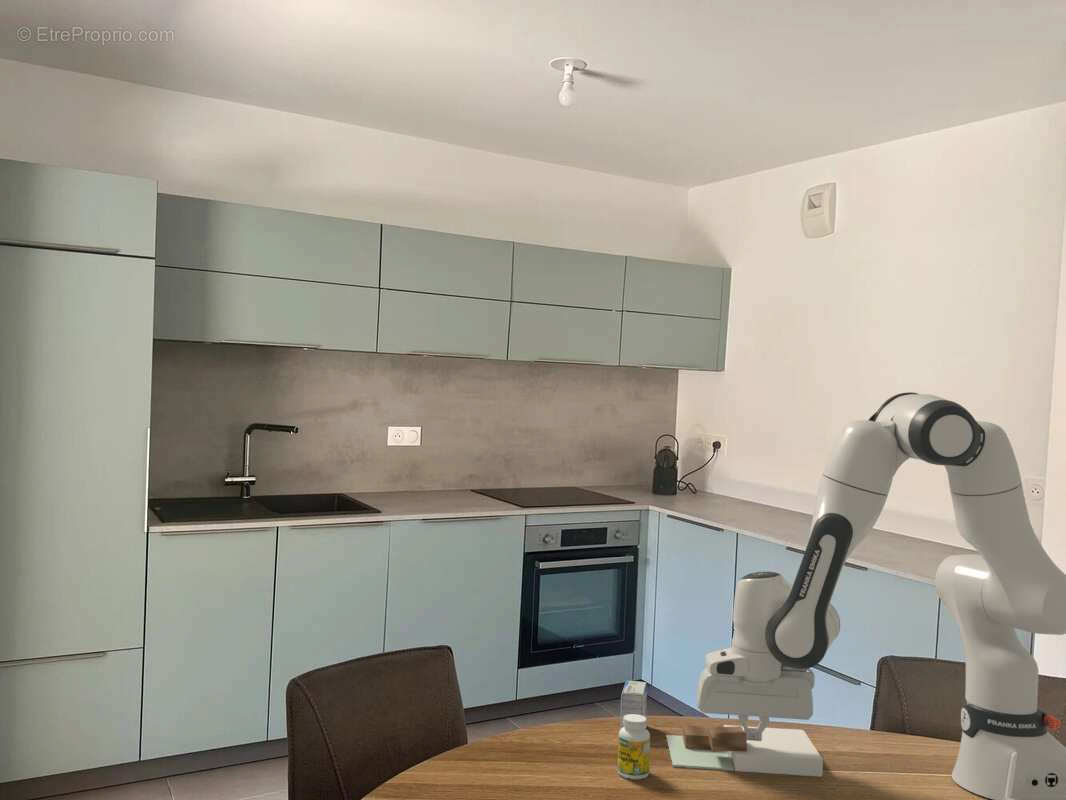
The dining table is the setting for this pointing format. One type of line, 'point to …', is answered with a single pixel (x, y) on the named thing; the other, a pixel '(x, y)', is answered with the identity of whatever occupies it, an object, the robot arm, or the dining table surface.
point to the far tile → (696, 737)
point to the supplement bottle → (634, 747)
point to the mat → (696, 756)
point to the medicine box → (633, 699)
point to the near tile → (727, 739)
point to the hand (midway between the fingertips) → (752, 739)
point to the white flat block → (779, 754)
